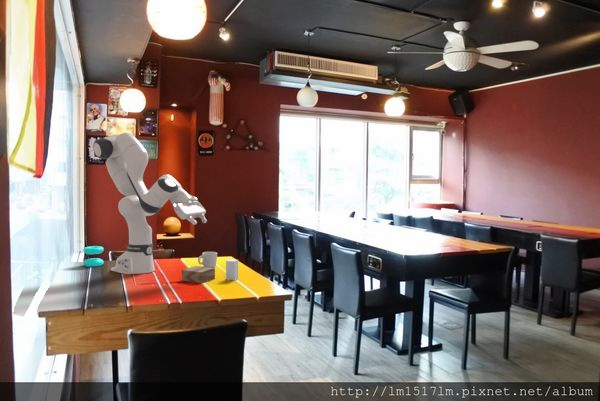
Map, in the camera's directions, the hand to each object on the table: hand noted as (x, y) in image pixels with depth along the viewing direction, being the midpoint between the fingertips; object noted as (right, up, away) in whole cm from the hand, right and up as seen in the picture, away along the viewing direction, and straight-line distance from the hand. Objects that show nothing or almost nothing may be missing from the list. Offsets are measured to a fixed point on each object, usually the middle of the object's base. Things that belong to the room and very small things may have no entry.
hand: (200, 223), depth 221 cm
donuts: (-63, -24, +25) cm, 72 cm away
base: (0, -27, -3) cm, 27 cm away
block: (+15, -27, 0) cm, 31 cm away
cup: (-2, -26, +25) cm, 36 cm away
